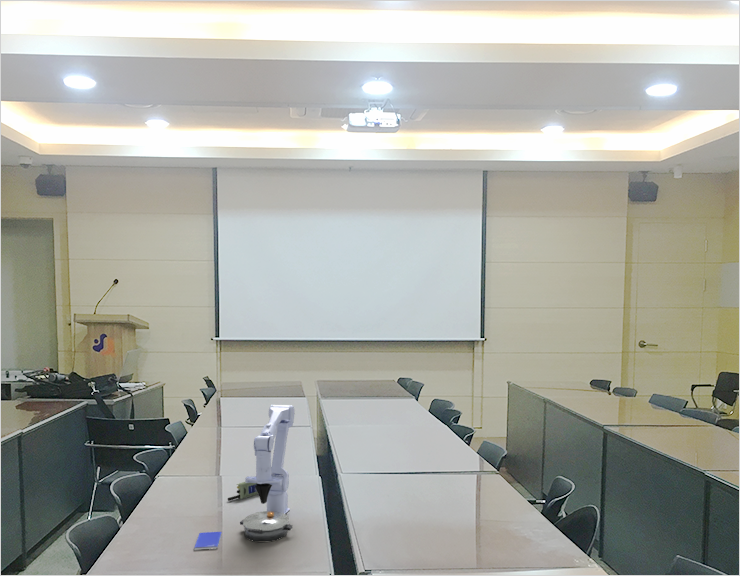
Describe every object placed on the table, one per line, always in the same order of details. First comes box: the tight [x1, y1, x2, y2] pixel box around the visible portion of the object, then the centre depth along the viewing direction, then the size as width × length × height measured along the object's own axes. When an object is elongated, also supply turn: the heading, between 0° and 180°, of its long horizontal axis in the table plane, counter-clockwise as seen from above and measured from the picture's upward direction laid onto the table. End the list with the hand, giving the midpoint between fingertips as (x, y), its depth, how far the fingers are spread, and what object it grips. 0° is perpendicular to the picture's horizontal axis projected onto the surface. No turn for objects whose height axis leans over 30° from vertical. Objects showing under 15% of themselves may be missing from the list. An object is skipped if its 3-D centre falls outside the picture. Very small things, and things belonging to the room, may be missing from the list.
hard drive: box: [193, 531, 222, 551], centre depth 221 cm, size 2×8×12 cm
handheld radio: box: [227, 475, 275, 502], centre depth 269 cm, size 7×3×25 cm
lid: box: [242, 510, 290, 533], centre depth 228 cm, size 18×17×2 cm
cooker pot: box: [239, 519, 293, 542], centre depth 230 cm, size 18×20×4 cm
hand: (263, 502), depth 231 cm, fingers closed
